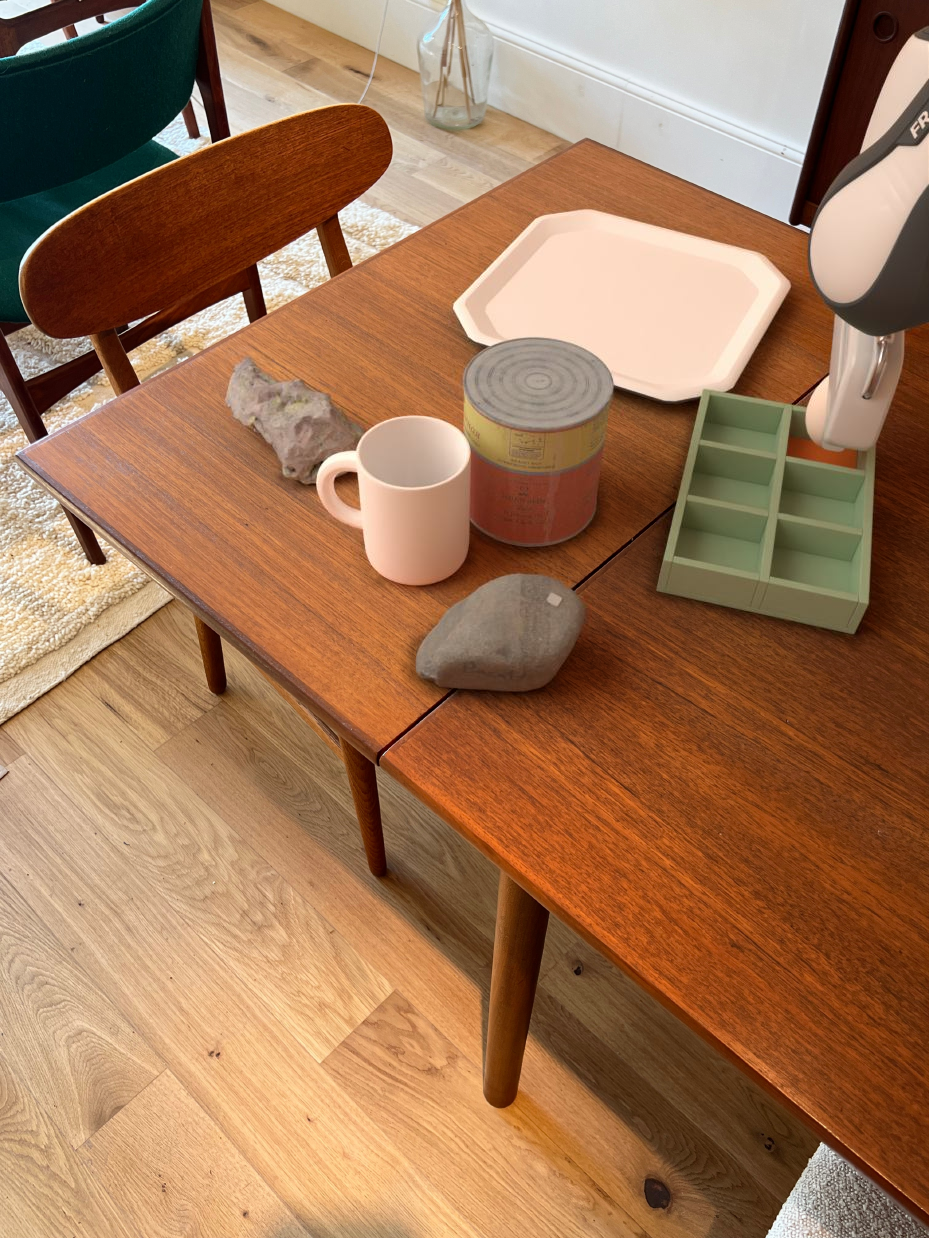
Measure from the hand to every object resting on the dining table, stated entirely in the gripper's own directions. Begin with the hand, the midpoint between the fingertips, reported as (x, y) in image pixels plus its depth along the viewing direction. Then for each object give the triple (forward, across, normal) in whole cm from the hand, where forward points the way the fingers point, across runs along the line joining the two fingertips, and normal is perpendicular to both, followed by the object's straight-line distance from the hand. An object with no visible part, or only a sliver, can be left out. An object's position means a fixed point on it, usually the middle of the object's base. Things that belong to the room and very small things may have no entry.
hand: (834, 422), depth 82 cm
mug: (+5, -19, +32) cm, 38 cm away
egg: (+2, 0, 0) cm, 3 cm away
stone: (+6, -28, +21) cm, 36 cm away
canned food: (+5, -11, +23) cm, 26 cm away
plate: (+5, +19, +21) cm, 29 cm away
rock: (+5, -10, +44) cm, 46 cm away
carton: (+5, -7, +4) cm, 9 cm away
